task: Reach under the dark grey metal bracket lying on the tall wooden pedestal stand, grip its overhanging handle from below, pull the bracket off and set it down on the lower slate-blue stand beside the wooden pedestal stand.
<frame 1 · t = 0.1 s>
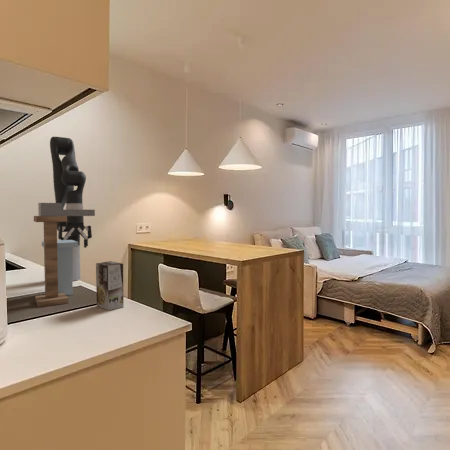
hand: (75, 248, 162), 17 cm above the worktop, tool pointing down, fingers open, 8 cm apart
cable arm: (50, 216, 131), point 33 cm above the worktop, touching wooden pedestal stand
wooden pedestal stand: (51, 302, 133), on the worktop
coffee box: (110, 306, 128), on the worktop
slate stand: (60, 293, 146), on the worktop
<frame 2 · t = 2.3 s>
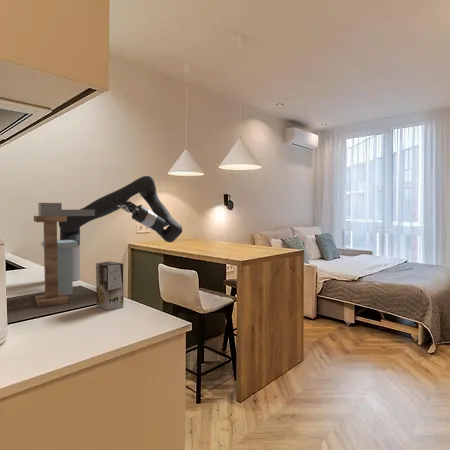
hand: (114, 198, 154), 40 cm above the worktop, tool pointing upward, fingers open, 8 cm apart
nothing on the worktop moved.
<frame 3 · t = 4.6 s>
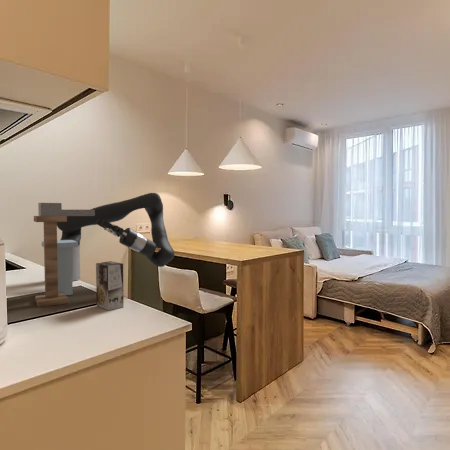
hand: (99, 221, 142), 30 cm above the worktop, tool pointing upward, fingers open, 8 cm apart
nothing on the worktop moved.
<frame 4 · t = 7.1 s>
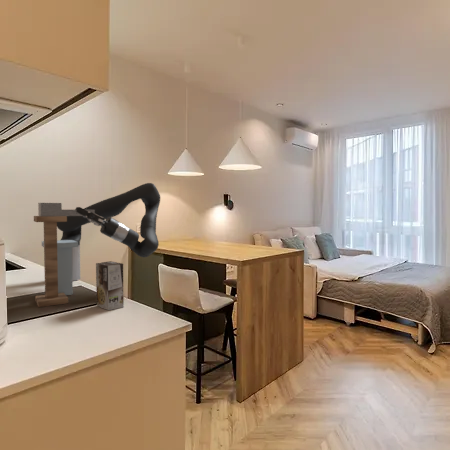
hand: (76, 209, 137), 36 cm above the worktop, tool pointing upward, fingers closed on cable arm, 3 cm apart
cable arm: (50, 216, 131), point 33 cm above the worktop, touching gripper, wooden pedestal stand
everything else where it was.
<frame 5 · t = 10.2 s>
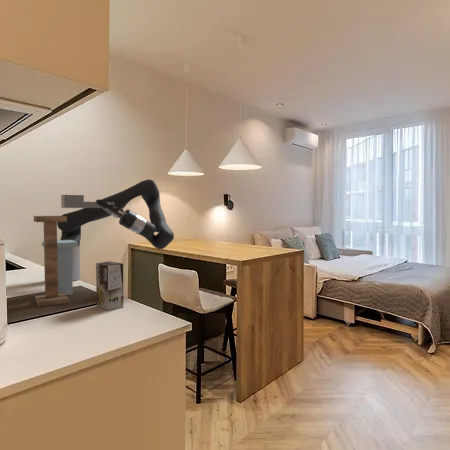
hand: (97, 201, 142), 39 cm above the worktop, tool pointing upward, fingers closed on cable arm, 3 cm apart
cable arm: (72, 207, 137), point 36 cm above the worktop, touching gripper
everything else where it was.
when the fingers open (26 cm above the worktop, at t = 13.2 s): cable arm drops 2 cm, resting on slate stand.
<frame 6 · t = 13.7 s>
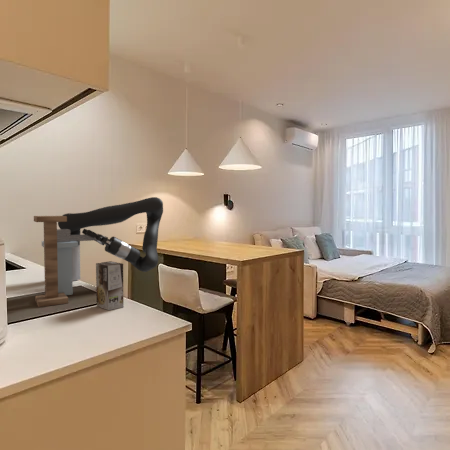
hand: (85, 231, 150), 26 cm above the worktop, tool pointing upward, fingers open, 7 cm apart
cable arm: (60, 241, 145), point 22 cm above the worktop, touching slate stand
everything else where it was.
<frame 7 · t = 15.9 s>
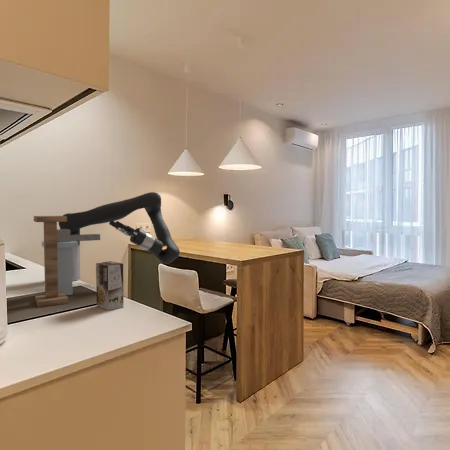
hand: (112, 222, 157), 30 cm above the worktop, tool pointing upward, fingers open, 8 cm apart
nothing on the worktop moved.
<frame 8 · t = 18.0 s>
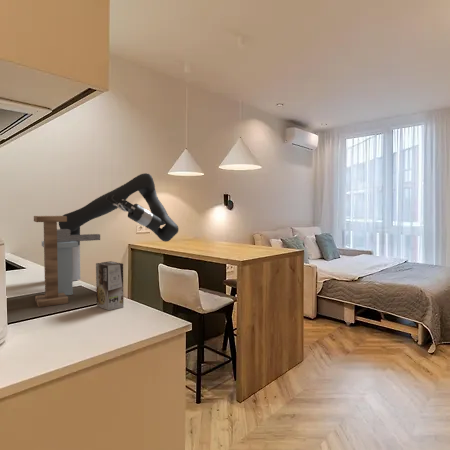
hand: (109, 197, 154), 41 cm above the worktop, tool pointing upward, fingers open, 8 cm apart
nothing on the worktop moved.
at the end: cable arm inside the target area on the slate stand (0.2 cm from its centre), point 22.0 cm above the slate stand's base; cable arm touching slate stand; the gripper is holding nothing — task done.
